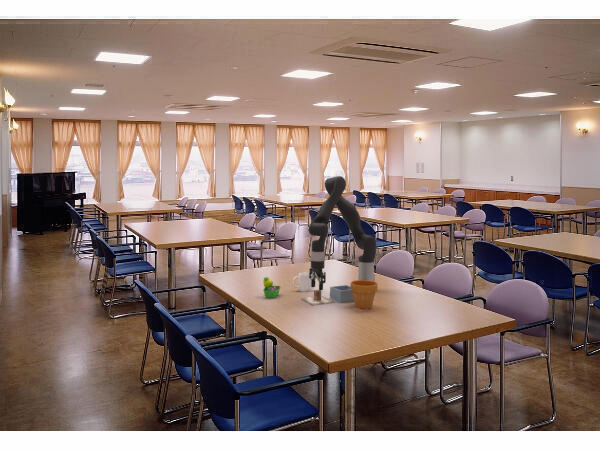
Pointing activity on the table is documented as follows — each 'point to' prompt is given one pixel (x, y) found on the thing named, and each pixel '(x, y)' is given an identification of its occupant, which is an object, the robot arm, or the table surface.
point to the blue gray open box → (341, 293)
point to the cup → (303, 282)
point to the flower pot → (363, 293)
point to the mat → (319, 304)
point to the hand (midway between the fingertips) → (316, 288)
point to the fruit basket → (270, 288)
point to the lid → (317, 299)
